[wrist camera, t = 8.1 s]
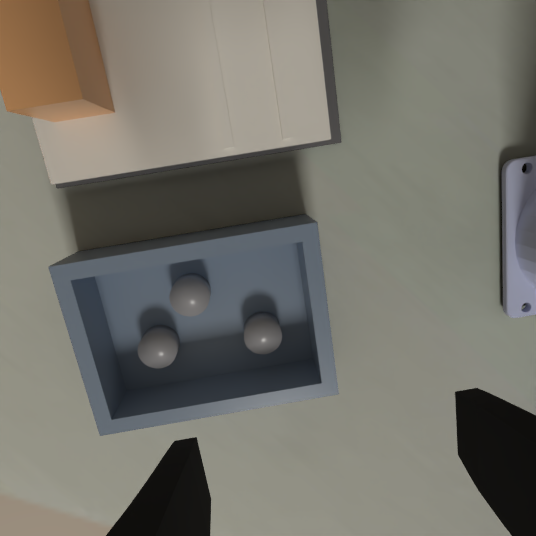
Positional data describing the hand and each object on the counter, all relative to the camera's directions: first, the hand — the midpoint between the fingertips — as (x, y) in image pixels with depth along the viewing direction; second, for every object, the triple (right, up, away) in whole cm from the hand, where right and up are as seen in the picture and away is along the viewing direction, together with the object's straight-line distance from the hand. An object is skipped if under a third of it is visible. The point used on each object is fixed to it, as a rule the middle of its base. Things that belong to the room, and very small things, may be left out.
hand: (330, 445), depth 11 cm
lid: (-6, +14, +6) cm, 16 cm away
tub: (-5, +3, +9) cm, 11 cm away
